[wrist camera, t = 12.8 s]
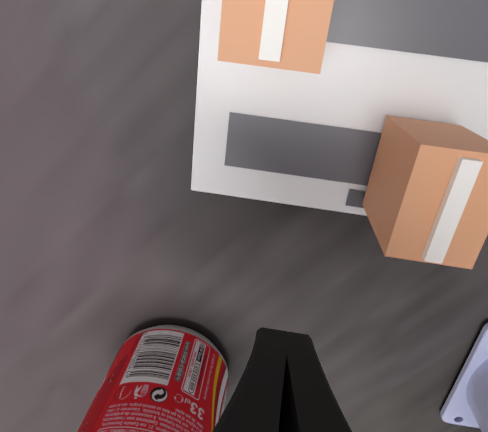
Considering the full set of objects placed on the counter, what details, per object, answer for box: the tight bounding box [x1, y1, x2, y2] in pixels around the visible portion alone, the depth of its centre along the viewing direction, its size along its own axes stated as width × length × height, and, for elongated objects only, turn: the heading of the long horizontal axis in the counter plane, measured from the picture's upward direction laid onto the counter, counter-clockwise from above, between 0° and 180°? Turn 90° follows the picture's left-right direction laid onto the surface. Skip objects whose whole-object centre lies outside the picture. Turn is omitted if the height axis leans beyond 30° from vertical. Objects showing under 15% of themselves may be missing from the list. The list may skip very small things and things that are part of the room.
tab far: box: [362, 116, 488, 269], centre depth 14 cm, size 3×4×5 cm
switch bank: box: [191, 0, 488, 216], centre depth 16 cm, size 13×11×1 cm
